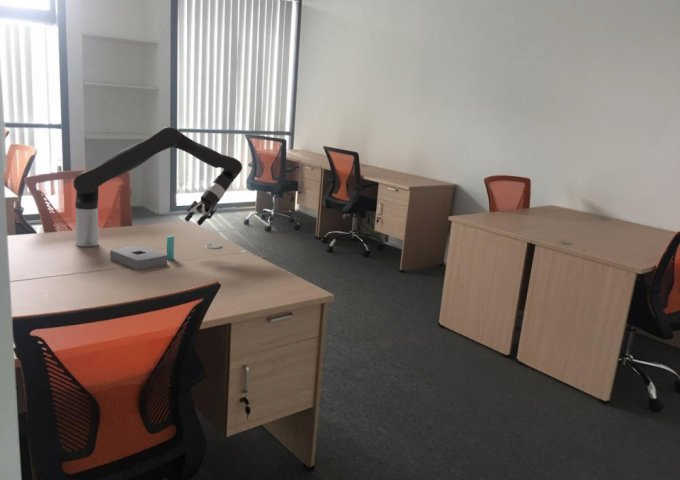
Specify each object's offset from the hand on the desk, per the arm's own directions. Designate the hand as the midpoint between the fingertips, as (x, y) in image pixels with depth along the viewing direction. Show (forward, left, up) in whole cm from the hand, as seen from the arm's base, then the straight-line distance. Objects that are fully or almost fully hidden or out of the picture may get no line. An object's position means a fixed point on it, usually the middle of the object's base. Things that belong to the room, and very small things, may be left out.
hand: (192, 222), depth 262 cm
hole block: (-4, -24, -15) cm, 29 cm away
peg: (0, -11, -15) cm, 19 cm away
